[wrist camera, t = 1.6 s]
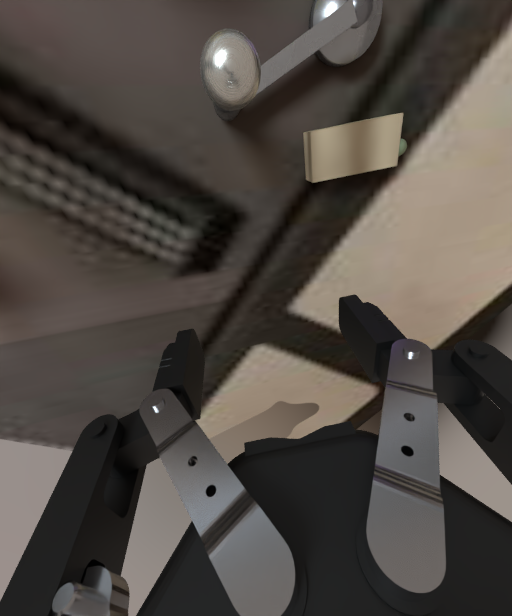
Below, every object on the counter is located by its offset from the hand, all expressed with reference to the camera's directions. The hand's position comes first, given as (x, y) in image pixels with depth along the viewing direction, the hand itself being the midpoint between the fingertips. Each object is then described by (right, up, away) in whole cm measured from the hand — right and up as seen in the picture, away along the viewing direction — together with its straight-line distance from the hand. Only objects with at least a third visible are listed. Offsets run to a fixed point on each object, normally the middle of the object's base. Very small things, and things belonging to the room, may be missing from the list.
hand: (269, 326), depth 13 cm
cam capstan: (+3, +26, +13) cm, 29 cm away
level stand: (+10, +20, +18) cm, 29 cm away
